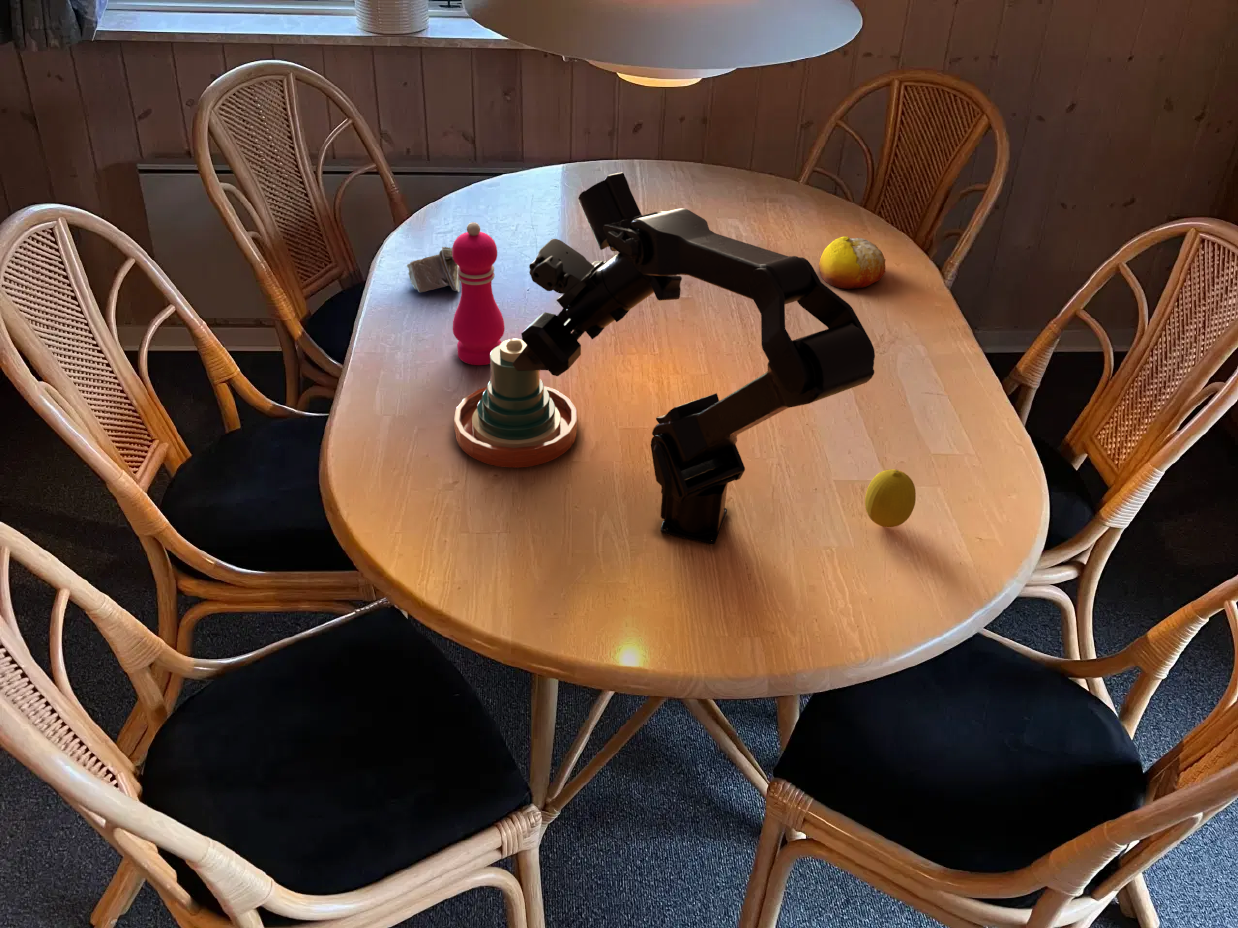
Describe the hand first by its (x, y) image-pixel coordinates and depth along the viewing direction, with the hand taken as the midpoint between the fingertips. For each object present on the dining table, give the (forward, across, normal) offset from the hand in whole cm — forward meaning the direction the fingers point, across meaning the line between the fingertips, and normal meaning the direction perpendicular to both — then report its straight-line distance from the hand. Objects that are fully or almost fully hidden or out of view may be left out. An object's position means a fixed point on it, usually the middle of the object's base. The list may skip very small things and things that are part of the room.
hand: (532, 349), depth 126 cm
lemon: (-22, -1, +41) cm, 46 cm away
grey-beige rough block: (+31, -45, -22) cm, 59 cm away
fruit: (-10, -63, +29) cm, 70 cm away
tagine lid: (+10, 0, +7) cm, 12 cm away
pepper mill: (+20, -15, -2) cm, 26 cm away
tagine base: (+11, 0, +7) cm, 13 cm away
